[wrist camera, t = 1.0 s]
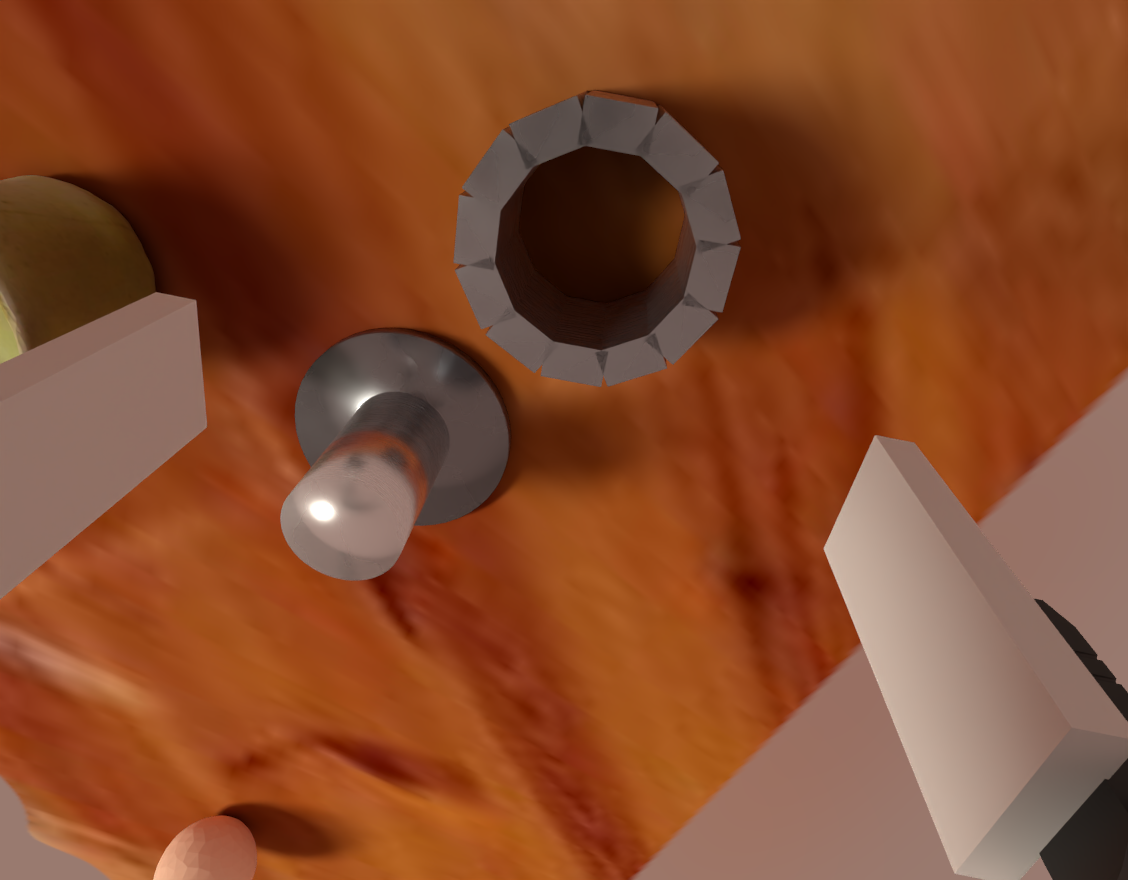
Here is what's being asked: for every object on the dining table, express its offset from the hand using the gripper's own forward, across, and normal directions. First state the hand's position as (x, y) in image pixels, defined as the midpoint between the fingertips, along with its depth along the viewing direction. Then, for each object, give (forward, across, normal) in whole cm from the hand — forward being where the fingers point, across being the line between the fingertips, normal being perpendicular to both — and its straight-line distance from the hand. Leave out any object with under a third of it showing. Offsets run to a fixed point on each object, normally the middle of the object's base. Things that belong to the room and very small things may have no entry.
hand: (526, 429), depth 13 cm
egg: (+19, -19, -50) cm, 57 cm away
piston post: (+19, -7, -12) cm, 23 cm away
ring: (+19, +1, 0) cm, 19 cm away
